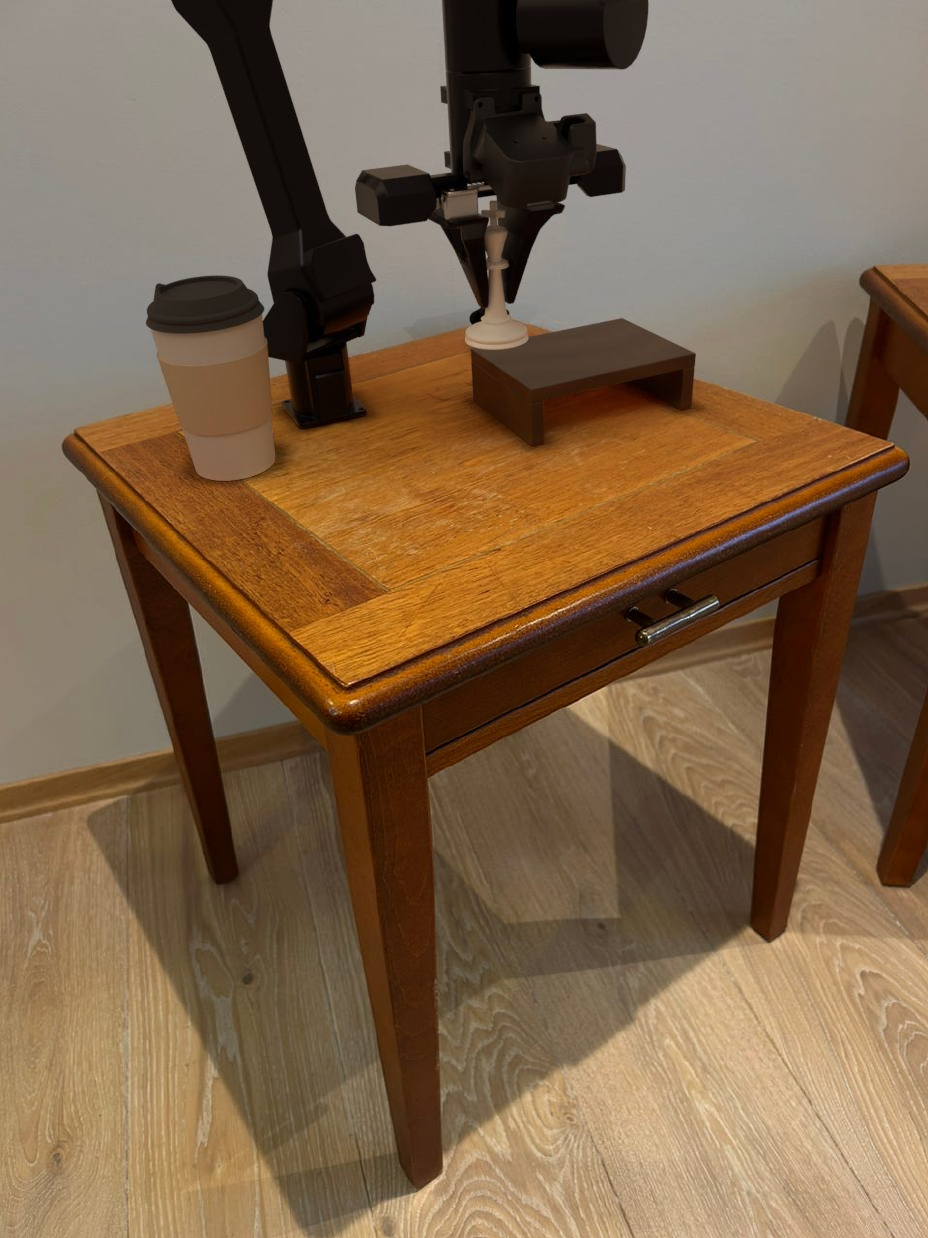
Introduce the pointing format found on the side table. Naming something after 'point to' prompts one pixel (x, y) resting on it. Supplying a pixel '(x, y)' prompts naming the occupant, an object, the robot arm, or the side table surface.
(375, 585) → the side table surface
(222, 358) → the coffee cup
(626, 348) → the shelf
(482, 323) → the chess piece
